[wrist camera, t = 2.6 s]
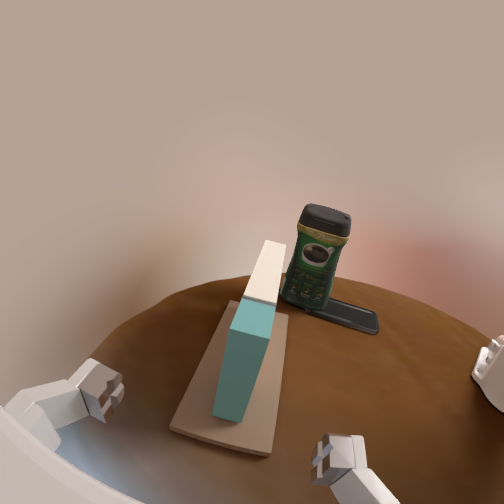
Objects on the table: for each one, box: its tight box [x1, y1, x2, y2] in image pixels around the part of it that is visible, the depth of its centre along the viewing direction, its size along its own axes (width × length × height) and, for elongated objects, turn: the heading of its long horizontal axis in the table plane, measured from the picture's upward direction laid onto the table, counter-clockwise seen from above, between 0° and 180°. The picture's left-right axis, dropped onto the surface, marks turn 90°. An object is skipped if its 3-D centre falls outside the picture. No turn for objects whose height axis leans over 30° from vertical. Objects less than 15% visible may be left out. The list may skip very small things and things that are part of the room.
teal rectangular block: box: [212, 296, 277, 423], centre depth 23 cm, size 5×3×12 cm, turn 169°
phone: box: [304, 298, 379, 335], centre depth 50 cm, size 8×1×15 cm
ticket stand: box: [169, 240, 288, 457], centre depth 31 cm, size 26×10×13 cm, turn 169°
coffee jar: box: [280, 204, 351, 311], centre depth 49 cm, size 10×8×19 cm
